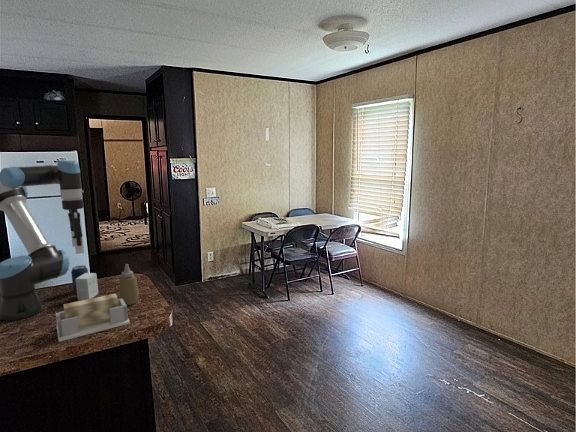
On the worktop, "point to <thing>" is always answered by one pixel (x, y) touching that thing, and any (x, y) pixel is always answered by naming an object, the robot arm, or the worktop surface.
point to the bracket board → (72, 330)
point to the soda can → (77, 274)
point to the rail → (91, 309)
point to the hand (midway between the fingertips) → (78, 249)
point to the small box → (87, 286)
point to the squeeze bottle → (128, 287)
